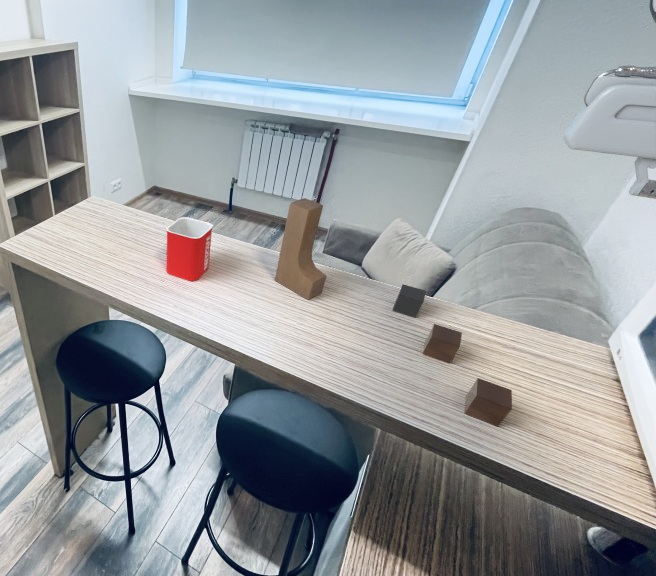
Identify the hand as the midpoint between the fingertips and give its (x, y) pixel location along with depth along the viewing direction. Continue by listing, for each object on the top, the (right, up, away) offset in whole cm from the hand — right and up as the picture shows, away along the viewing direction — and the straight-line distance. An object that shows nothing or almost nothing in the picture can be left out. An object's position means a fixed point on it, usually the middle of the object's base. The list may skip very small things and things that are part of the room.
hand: (645, 196), depth 50 cm
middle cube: (-12, -22, +19) cm, 32 cm away
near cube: (-13, -29, +9) cm, 33 cm away
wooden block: (-30, -11, +36) cm, 48 cm away
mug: (-51, -6, +43) cm, 67 cm away
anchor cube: (-11, -15, +29) cm, 35 cm away
